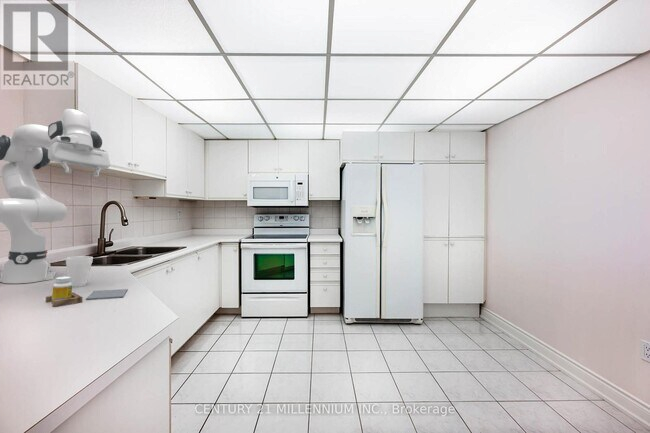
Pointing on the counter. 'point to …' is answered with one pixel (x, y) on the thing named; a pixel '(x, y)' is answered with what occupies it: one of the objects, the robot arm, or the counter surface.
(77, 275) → the foam cup
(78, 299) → the slot holder
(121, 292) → the slate mat
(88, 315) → the counter surface
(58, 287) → the supplement bottle
